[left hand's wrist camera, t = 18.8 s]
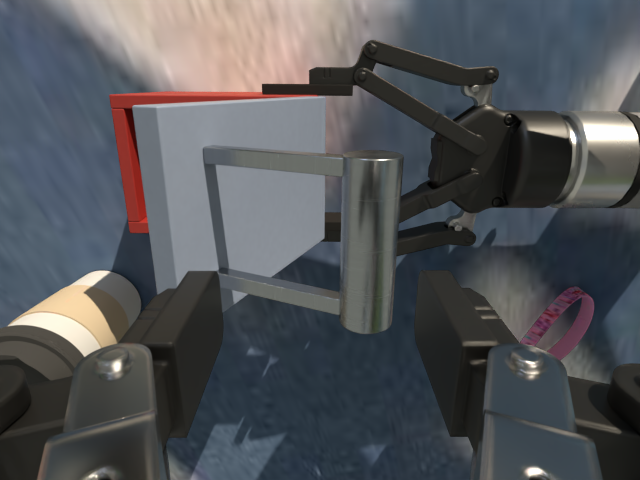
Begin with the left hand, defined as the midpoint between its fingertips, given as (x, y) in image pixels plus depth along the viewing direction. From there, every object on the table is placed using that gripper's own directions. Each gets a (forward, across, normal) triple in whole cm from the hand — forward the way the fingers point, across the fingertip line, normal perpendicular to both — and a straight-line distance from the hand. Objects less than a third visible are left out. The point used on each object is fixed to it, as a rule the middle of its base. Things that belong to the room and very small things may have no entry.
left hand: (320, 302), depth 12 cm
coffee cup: (+30, -22, -16) cm, 41 cm away
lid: (+13, -4, 0) cm, 13 cm away
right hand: (+24, -4, 0) cm, 24 cm away
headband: (+30, +25, -19) cm, 44 cm away
